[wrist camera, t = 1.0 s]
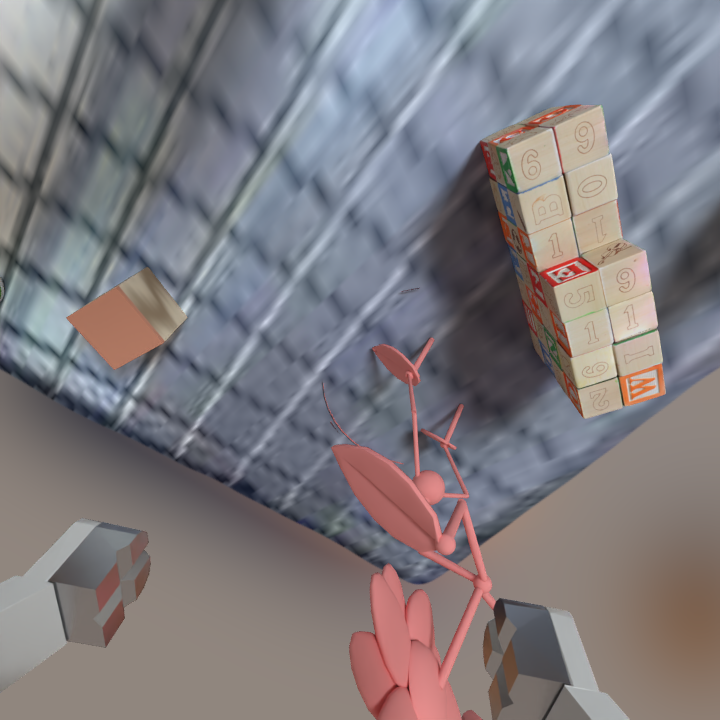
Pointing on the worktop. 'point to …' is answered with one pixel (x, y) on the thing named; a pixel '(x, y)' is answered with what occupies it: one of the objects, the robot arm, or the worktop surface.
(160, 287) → the maple cube
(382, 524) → the coral stemmed figure
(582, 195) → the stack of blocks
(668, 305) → the worktop surface
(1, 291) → the supplement bottle
